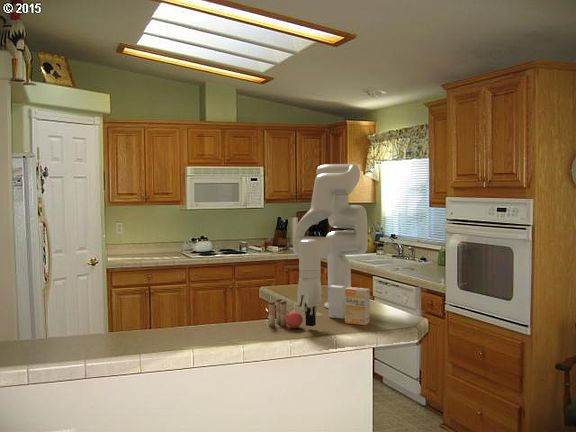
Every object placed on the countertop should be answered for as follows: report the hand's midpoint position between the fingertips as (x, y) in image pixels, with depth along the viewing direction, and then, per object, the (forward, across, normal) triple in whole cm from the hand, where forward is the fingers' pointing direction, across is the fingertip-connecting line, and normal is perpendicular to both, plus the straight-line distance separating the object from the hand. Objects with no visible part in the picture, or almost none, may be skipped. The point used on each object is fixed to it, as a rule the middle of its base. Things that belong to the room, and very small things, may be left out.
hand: (310, 325), depth 212 cm
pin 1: (+1, +2, -15) cm, 15 cm away
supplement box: (+2, -16, +11) cm, 19 cm away
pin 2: (+1, -3, -15) cm, 15 cm away
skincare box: (+2, -21, 0) cm, 21 cm away
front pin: (+1, 0, -11) cm, 11 cm away
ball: (-2, +1, -6) cm, 6 cm away
